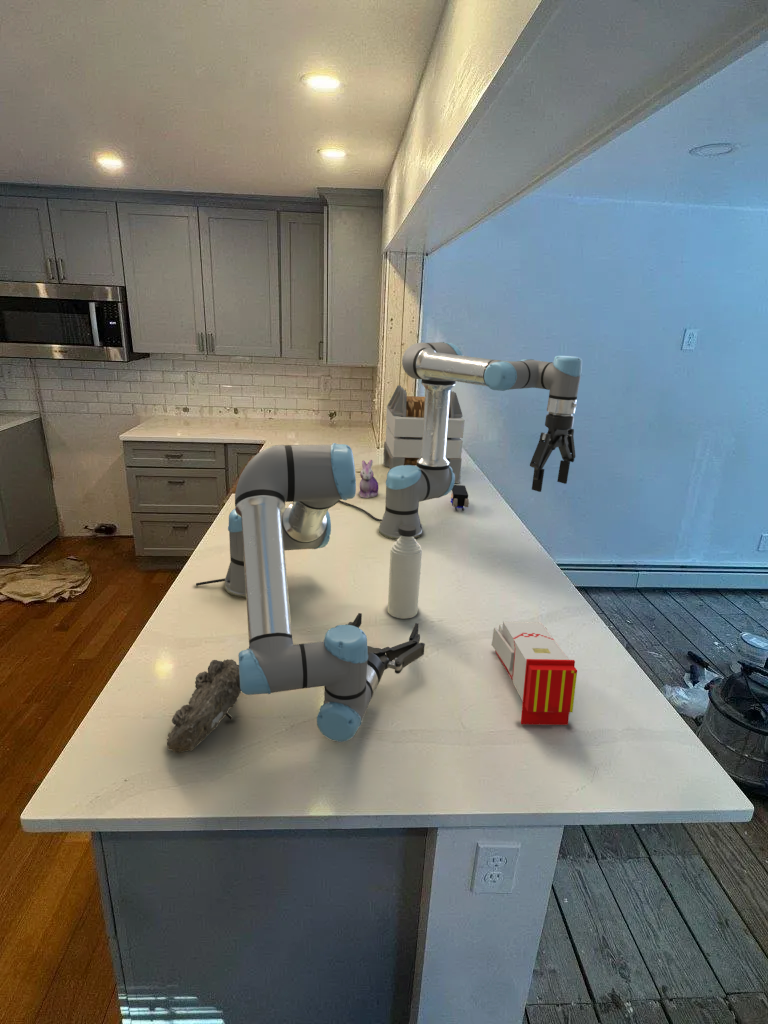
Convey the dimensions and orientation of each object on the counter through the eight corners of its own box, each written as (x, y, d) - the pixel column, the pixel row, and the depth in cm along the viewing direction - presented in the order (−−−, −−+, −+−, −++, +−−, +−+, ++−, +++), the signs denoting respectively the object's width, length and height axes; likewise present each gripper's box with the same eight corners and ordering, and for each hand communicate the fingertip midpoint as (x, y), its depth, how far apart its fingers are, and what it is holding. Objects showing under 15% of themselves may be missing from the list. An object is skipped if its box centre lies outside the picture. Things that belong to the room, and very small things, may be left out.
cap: (417, 531, 143) (417, 525, 143) (414, 537, 139) (414, 531, 139) (400, 529, 144) (400, 523, 144) (396, 535, 140) (397, 529, 140)
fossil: (192, 660, 117) (244, 628, 112) (224, 691, 120) (276, 661, 115) (142, 746, 98) (202, 712, 93) (182, 779, 101) (242, 748, 96)
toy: (538, 606, 134) (586, 666, 105) (533, 659, 137) (578, 731, 108) (487, 605, 134) (521, 665, 105) (483, 658, 137) (515, 730, 107)
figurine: (363, 499, 233) (364, 464, 228) (353, 492, 242) (354, 458, 236) (383, 497, 237) (385, 462, 232) (373, 490, 246) (374, 456, 241)
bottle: (419, 606, 152) (425, 525, 144) (414, 620, 145) (420, 536, 137) (391, 601, 154) (395, 521, 146) (384, 615, 146) (388, 532, 138)
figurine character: (468, 516, 224) (463, 500, 237) (471, 498, 221) (465, 483, 234) (452, 515, 224) (447, 499, 237) (453, 498, 220) (449, 482, 234)
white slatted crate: (382, 463, 289) (386, 382, 275) (445, 464, 293) (451, 384, 279) (390, 482, 257) (394, 392, 243) (460, 483, 261) (468, 394, 247)
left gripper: (302, 680, 116) (337, 627, 136) (421, 705, 110) (439, 646, 130) (302, 648, 114) (337, 600, 133) (424, 672, 108) (442, 618, 127)
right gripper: (547, 420, 147) (536, 497, 154) (595, 412, 163) (583, 482, 171) (523, 415, 152) (513, 490, 160) (571, 407, 168) (560, 476, 176)
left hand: (388, 623), depth 131 cm, fingers open, 13 cm apart
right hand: (549, 486), depth 165 cm, fingers open, 13 cm apart
